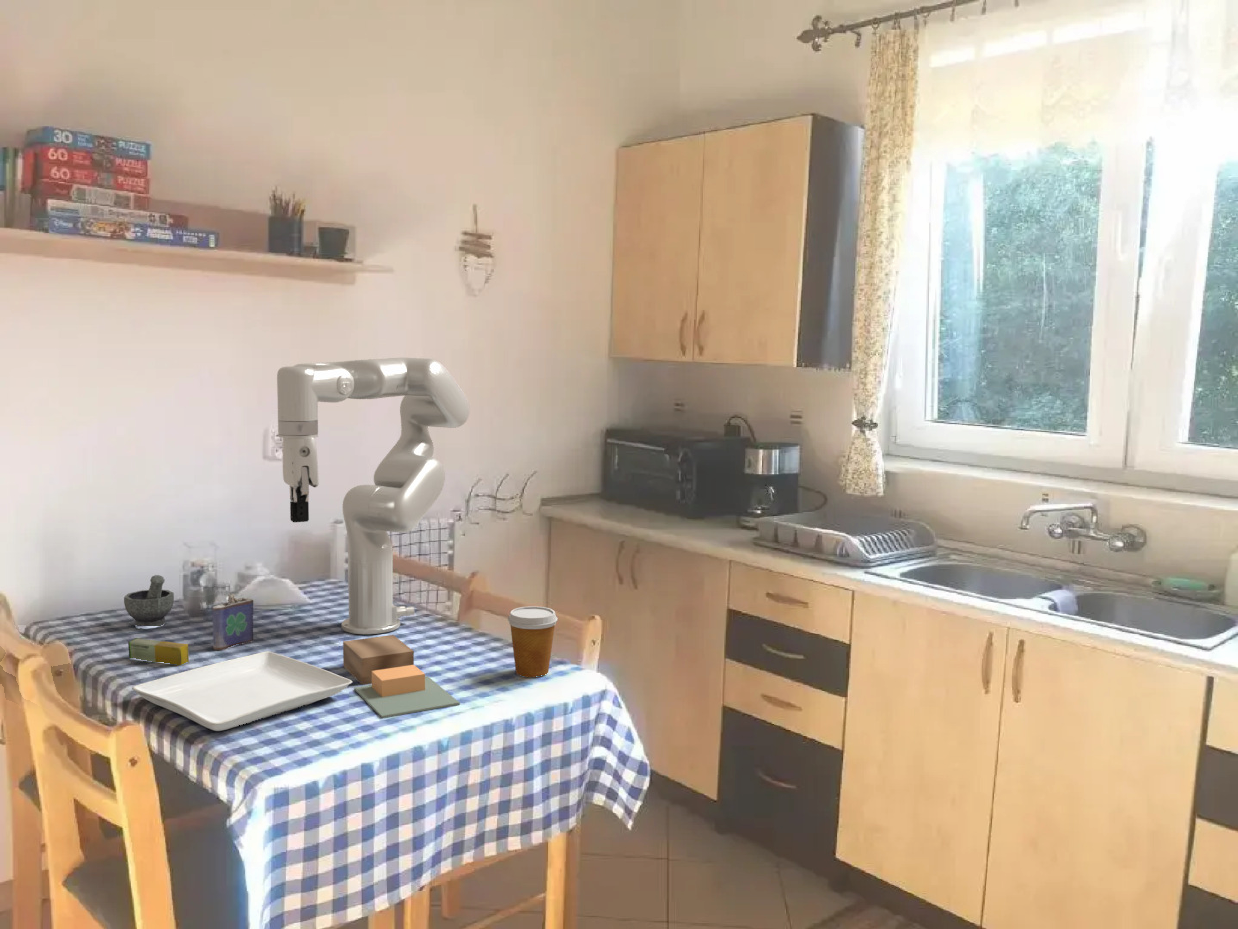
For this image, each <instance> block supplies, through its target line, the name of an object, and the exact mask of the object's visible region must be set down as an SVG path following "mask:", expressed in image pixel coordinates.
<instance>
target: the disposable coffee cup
mask: <svg viewBox="0 0 1238 929" xmlns="http://www.w3.org/2000/svg"><path fill="white" fill-rule="evenodd" d="M507 621H508V623H509V625H510V635H511V642H512V651H513V652H512V653H513V658H514V659H513V660H514V667H515V673H516V675H518V676H519V675H521V676H520V677H522V676H524V677H523V678H530V677H533V678H537V677H536V676H541V675H545V674H547V673H548V674H549V668H550V662H551V655H552V648H553V642H554V641H553V640H554V634H555V626H556V624H557V622H558V616H556V611H555V610H554V609H552V608H549V607H546V606H535V605H534V606H533V605H532V606H521V607H516V608H514V609H512V610H511V611H510V613H509V616H508V617H507ZM548 674H547V675H548ZM545 676H546V675H545ZM541 677H542V676H541Z"/></svg>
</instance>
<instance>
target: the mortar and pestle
mask: <svg viewBox="0 0 1238 929" xmlns="http://www.w3.org/2000/svg"><path fill="white" fill-rule="evenodd" d="M164 583H165V578H164V576H162V575H159V574H154V575H152V576H151V577H150V585H149V588H148V589H143V590H139V591H138V590H137V591H134V592H130V593H127V594H126V595H125V596H124V597H123V602H124V607H125V612H126V613H127V614H128V615H129V617H131V618H132V619H133V620H134V624H135V625H137V626H161V625H163V624H164V623H165V622H166V618H165V617H166V616H168V615H169V613H170V612H171V610H172V608H173V605H174V598H175V593H174V592H173V591H172V590H171V591H170V590H168V589H163V585H164ZM166 623H167V622H166Z"/></svg>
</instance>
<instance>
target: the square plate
mask: <svg viewBox="0 0 1238 929" xmlns="http://www.w3.org/2000/svg"><path fill="white" fill-rule="evenodd" d="M352 683H353V681H352V680H351V679H349V678H347V677H344V676H342V675H338V674H336V673H333V672H331V671H329V670H326V669H324V668H320V667H319V666H315V665H313V664H310V663H307V662H305V661H301V660H299V659H295V658H292V657H289V656H286V655H283V654H279V653H276V652H272V651H268V650H267V651H262V652H258V653H254V654H251V655H246V656H241V657H238V658H237V657H236V658H231V659H229V660H224V661H219V662H216V663H212V664H208V665H204V666H200V667H197V668H196V667H195V668H193V669H188V670H186V671H182V672H180V673H179V672H178V673H175V674H171V675H168V676H167V675H166V676H164V677H159V678H158V679H154V680H151V681H147V682H143V683H140V684H137V685H134V686H132V687H131V690H132V691H133V692H135V693H136V694H138V695H139V696H140V697H142V698H144V699H145V700H146V701H148V702H150V703H153V704H154V705H157V706H159V707H162V708H164V709H167V711H171V712H174V713H176V714H179V715H181V716H183V717H185V718H187V719H189V720H191V721H193V722H195V723H197V724H198V725H200V726H203V727H205V728H207V729H209V730H211V731H215V732H222V731H225V730H231V729H234V728H236V727H239V725H240V726H243V724H244V725H246V723H247V724H251V723H253V722H252V721H254V722H256V721H255V720H257V721H259V720H258V719H260V720H262V719H261V718H263V719H266V718H269V717H272V715H273V716H275V714H276V715H278V714H282V713H284V711H286V712H288V711H291V710H296V709H298V707H299V708H301V706H302V707H304V706H303V705H305V706H308V705H311V704H313V703H315V702H318V701H320V700H324V699H328V698H329V697H332V696H335V695H337V694H339V693H340V692H342V691H344V690H345V689H346V688H348V686H349V685H350V684H352ZM281 712H282V713H281Z"/></svg>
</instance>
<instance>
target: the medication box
mask: <svg viewBox="0 0 1238 929" xmlns="http://www.w3.org/2000/svg"><path fill="white" fill-rule="evenodd" d="M127 644H128V645H127V646H128V658H129V657H130V658H136V659H141V660H147V661H152V662H164V663H170V664H177V665H176V666H178V665H182V664H184V663H186V662H188V663H190V660H189V659H190V657H189V656H190V655H189V644H188V643H180V642H179V643H178V642H174V641H173V642H171V641H165V640H164V641H163V640H155V639H148V638H147V639H146V638H139V637H138V638H137V637H136V638H133V639H131V640H129V641H128V643H127ZM184 665H185V664H184ZM182 666H183V665H182Z"/></svg>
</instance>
